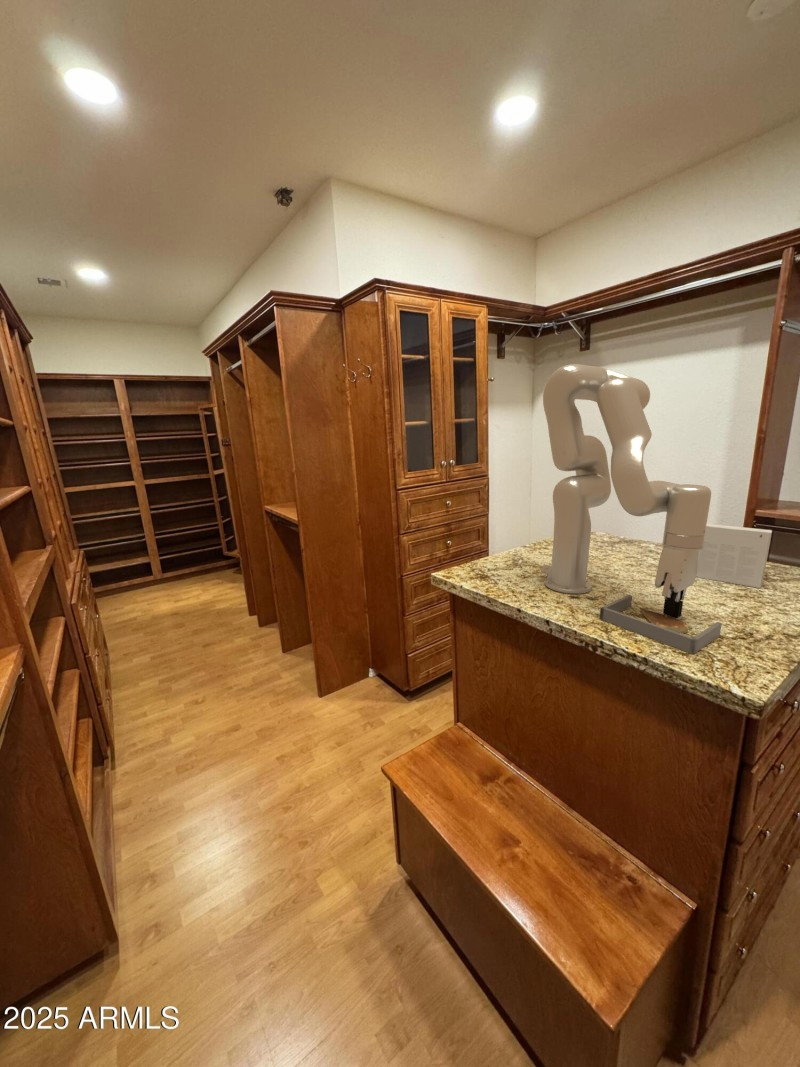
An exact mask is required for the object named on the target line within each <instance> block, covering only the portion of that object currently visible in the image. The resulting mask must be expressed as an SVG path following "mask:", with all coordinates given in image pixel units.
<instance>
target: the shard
mask: <svg viewBox="0 0 800 1067" xmlns="http://www.w3.org/2000/svg"><path fill="white" fill-rule="evenodd" d="M638 609H639V612H640V614H641V615H642V616H644V618H646V620H647V622H649V623H651V624H654V625H657V626H660V627H663V628H666V629H669V630H672V631H675V632H677V633H680V634H683V635H685V634H686V633H688V632H689V630H690V629H689V627H688V626H687V625H686V623H687V622H685V621H682V620H680V619H678V618H673V617H670V616H667V615H664V614H663V613H659V612H655V611H651V610H648V609H646V608H642V607H638Z"/></svg>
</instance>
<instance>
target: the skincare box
mask: <svg viewBox="0 0 800 1067" xmlns="http://www.w3.org/2000/svg"><path fill="white" fill-rule="evenodd" d="M772 533H773V530H772V529H763V528H754V527H753V528H752V527H744V526H736V525H735V526H732V525H726V524H724V525H723V524H714V523H707V524H706V530H705V537H704V543H703V549H702V550H699V557H698V567H697V574H696V578H698V579H699V578H700V579H705V580H711V581H717V582H723V583H727V584H733V585H739V586H745V587H751V588H757V589H761V588H762V586H763V581H764V577H765V571H766V566H767V560H768V555H769V549H770V546H771V538H772Z"/></svg>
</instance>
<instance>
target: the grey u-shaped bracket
mask: <svg viewBox="0 0 800 1067" xmlns="http://www.w3.org/2000/svg"><path fill="white" fill-rule="evenodd" d="M632 602H633V595H632V594H627V595H625V596H624V597H621V598H619V599H617V600H615V601H612V602H610V603H608V604H606V605H603V606H600V611H599V620H601V621H603V622H606V623H609V624H611V625H614V626H617V627H620V628H622V629H625V630H628V631H630V632H633V633H635V634H638V635H640V636H642V637H646V638H648V639H652V640H655V641H657V642H659V643H662V644H665V645H668V646H670V647H673V648H675V649H678V650H681V651H683V652H686V653H689V654H691V655H695V654H696V653H698V652H699V651H701V650H702V649H703V648H704V647H707V645H709V644H711V643H712V642H713V641H715V640H716V639H717V638H719V637H720V636H721V630H722V625H723V624H722V622H720V621H717V622H715V623H713V624H712V625H711V626H709V627H708V628H706V629H705V630H702V631H701V632H700V633H698V634H697V635H695V636H694V637H691V636H689V635H686V634H683V633H677V632H675V631H672V630H669V629H666V628H663V627H660V626H657V625H654V624H651V623H650V621H645V620H642V619H639V618H637V617H634V616H631V615H628V614H625V613H623V611H625V610H628V609H630V608H631V607H632Z"/></svg>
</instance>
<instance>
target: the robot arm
mask: <svg viewBox="0 0 800 1067" xmlns="http://www.w3.org/2000/svg"><path fill="white" fill-rule="evenodd" d="M650 398H651V391H650V388H649V386H648V384H647V383H646V382H644V381H643V380H642V379H639V378H636V377H632V376H629V375H625V374H622V373H619V372H617V371H613V370H611V369H609V368H608V369H607V368H605V367H601V366H593V365H587V364H579V363H571V364H570V363H569V364H566V365H563V366H561V367H558V368H557V369H556V370H555V371H554V372H553V373H552V374H551V375H549V378H548V379H547V381H546V382H545V385H544V389H543V392H542V405H543V410H544V413H545V418H546V419H545V420H546V423H547V429H548V437H549V443H550V444H549V445H550V450H551V456H552V462H553V465H554V467H556V469H557V470H559V471H562V472H575V475H571V476H567V477H565V478H563V479H561V480H559V481H558V482H557V484H556V485H555V486H554V489H553V491H552V504H553V513H554V514H553V517H554V522H553V523H554V524H553V536H552V537H553V539H552V552H551V565H548V564H542V567H541V568H540V573H543V574H546V575H547V576H546V578H545V579H544V585H545V586H546V587H547V588H548V589H550V590H553V591H555V592H558V593H564V594H570V595H571V594H572V595H573V594H574V595H576V594H579V595H580V594H585V593H588V592H590V591H592V588H593V585H592V582H590V581H589V580H588V579H587V577H588V566H589V565H588V564H589V557H590V556H589V555H590V542H591V534H592V522H591V521H592V519H591V517H590V512H589V511H590V510H589V509H591V508H596V507H599V506H603V504H605V503H606V502H607V501H608V500H609V498H610V496H611V492H612V486H613V488H614V491H615V494H616V497H617V499H618V502H619V504H620V506H621V507H622V509H623V510H624V511H625V512H626V513H628V514H629V515H631V516H634V517H646V516H650V515H653V514H659V513H665V512H666V516H665V523H664V530H663V538H662V546H663V548H661V553H660V557H659V560H658V565H657V568H656V575H655V579H654V580H655V581H654V586H655V588H662V587H663V588H662V592H661V597H664V603H663V609H662V614H663V615H666V616H669V617H672V618H674V619H678V618H681V616H682V614H683V613H682V611H683V605H684V600H685V597H686V592H687V589H688V588H690V587H692V586H693V585H694V583H695V581H696V578H697V577H696V574H697V567H698V557H699V550H702V549H703V543H704V537H705V530H706V524H708V517H709V511H710V506H711V505H710V504H711V499H712V490H711V489H710V488H709V487H708V486H706V485H702V484H701V485H700V484H682V483H681V484H680V483H674V482H671V481H665V480H653V481H652V480H651V481H649V479H648V477H647V474H646V470H645V467H644V453H645V450H646V448H647V445H648V444H649V442H650V440H651V438H652V431H651V427H650V425H649V422H648V419H647V417H646V414H645V412H644V409H645V408H646V407H647V405H648V404H649V402H650V400H651V399H650ZM576 400H580V401H581V400H582V401H583V400H584V401H592V402H595V403H597V404H596V405H597V408H598V410H599V412H600V415H601V418H602V421H603V424H604V427H605V430H606V432H607V435H608V439H609V441H610V444H611V447H612V451H611V457H610V470H609V462H608V457H607V451H606V448H605V445H604V443H602V441H601V440H600V438H597V437H596V436H592V435H588V434H587V435H586V434H585V433H584V428H583V422H582V417H581V414H580V411H579V409H578V408H577V405H576V403H575V401H576ZM611 482H612V484H611Z"/></svg>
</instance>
